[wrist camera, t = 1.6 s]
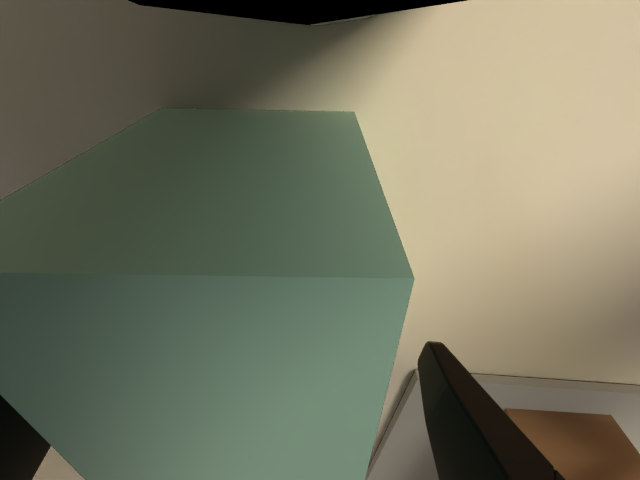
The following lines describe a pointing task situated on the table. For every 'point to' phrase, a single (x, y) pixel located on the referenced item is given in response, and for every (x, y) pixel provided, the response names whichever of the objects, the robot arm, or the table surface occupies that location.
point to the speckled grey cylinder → (295, 8)
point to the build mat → (508, 392)
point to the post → (580, 444)
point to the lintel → (206, 299)
